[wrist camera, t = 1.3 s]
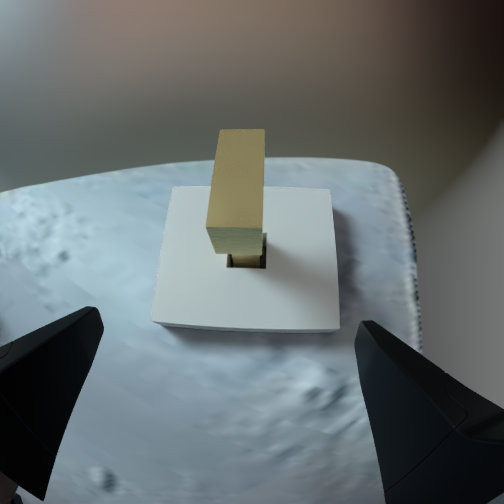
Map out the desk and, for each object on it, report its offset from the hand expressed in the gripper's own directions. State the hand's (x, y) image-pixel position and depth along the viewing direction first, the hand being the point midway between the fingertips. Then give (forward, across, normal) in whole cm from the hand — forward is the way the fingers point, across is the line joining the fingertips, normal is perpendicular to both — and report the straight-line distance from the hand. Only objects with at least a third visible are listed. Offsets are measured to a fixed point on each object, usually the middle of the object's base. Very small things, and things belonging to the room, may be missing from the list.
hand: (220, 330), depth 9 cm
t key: (+15, 0, +4) cm, 15 cm away
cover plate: (+15, 0, +4) cm, 15 cm away
